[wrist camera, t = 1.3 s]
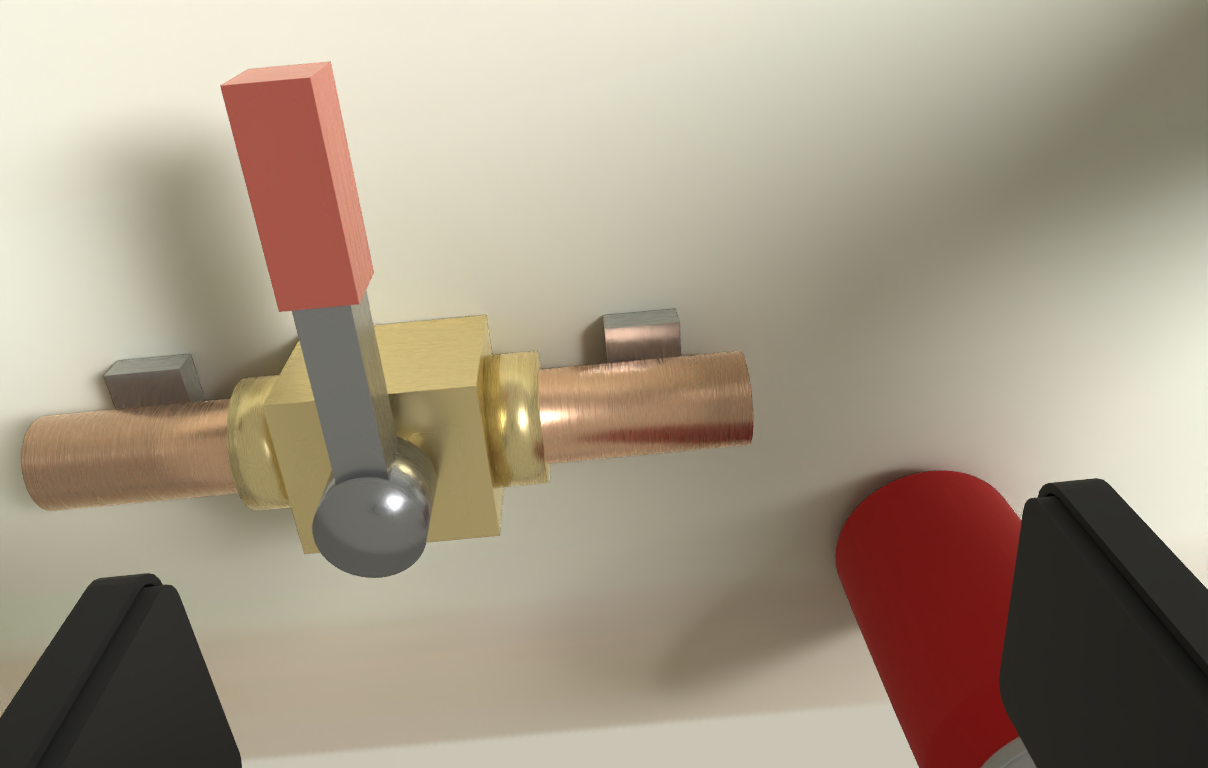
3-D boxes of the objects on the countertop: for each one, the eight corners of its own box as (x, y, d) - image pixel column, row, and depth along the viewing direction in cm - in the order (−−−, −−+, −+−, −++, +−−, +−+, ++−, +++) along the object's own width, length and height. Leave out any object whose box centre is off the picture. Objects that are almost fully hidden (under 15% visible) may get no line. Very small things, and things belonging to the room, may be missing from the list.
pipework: (729, 292, 31) (759, 359, 27) (731, 428, 33) (759, 510, 29) (58, 354, 31) (-24, 432, 26) (109, 487, 33) (41, 578, 29)
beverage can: (899, 628, 38) (1033, 912, 28) (792, 537, 36) (895, 810, 25) (1039, 528, 36) (1242, 793, 26) (936, 423, 34) (1113, 668, 23)
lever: (444, 516, 28) (435, 571, 26) (344, 526, 28) (325, 582, 26) (356, 57, 22) (333, 77, 20) (227, 69, 22) (190, 89, 20)
